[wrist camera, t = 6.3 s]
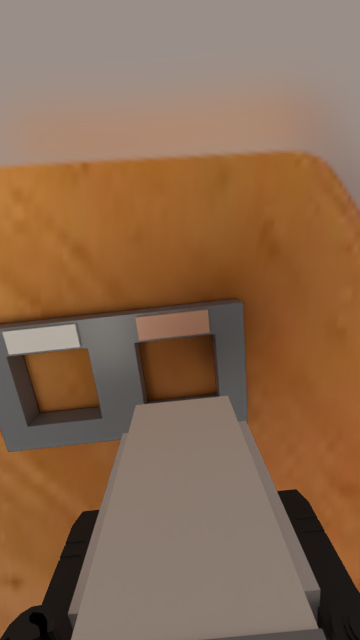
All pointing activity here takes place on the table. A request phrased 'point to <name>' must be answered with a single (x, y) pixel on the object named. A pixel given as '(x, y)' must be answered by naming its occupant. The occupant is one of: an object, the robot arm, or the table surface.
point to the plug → (191, 538)
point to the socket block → (112, 368)
